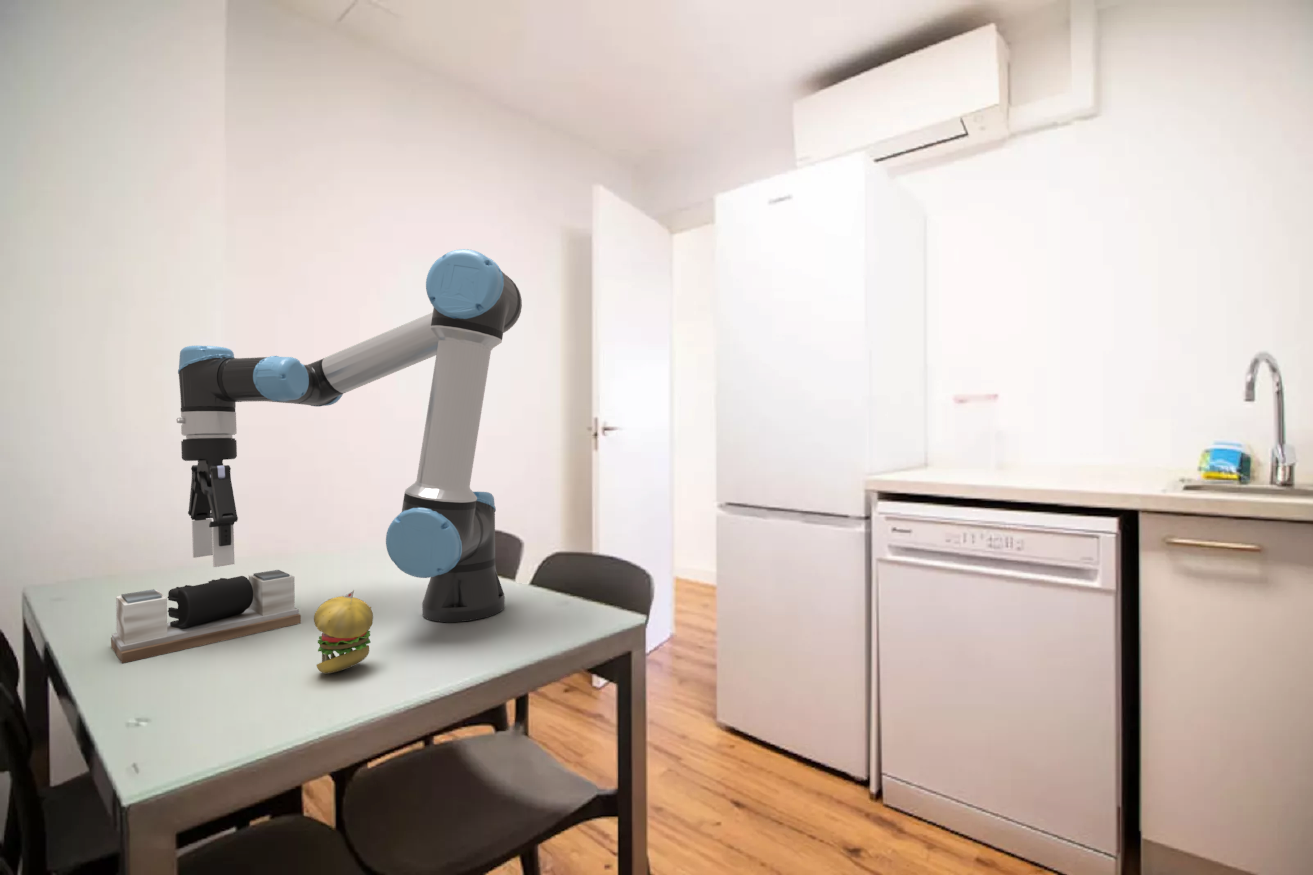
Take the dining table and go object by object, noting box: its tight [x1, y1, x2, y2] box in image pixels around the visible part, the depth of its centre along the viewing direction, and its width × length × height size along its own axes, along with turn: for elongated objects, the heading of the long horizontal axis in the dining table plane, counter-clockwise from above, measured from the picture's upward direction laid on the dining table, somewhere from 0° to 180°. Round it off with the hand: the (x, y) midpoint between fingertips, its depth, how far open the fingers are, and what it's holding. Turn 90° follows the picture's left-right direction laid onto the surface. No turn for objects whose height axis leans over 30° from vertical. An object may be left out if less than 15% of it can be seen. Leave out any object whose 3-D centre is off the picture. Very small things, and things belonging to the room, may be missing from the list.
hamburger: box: [313, 589, 374, 674], centre depth 83 cm, size 8×7×12 cm
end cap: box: [167, 575, 253, 629], centre depth 99 cm, size 10×7×7 cm
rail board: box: [110, 569, 302, 664], centre depth 99 cm, size 11×24×9 cm, turn 140°
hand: (212, 560), depth 99 cm, fingers open, 13 cm apart
